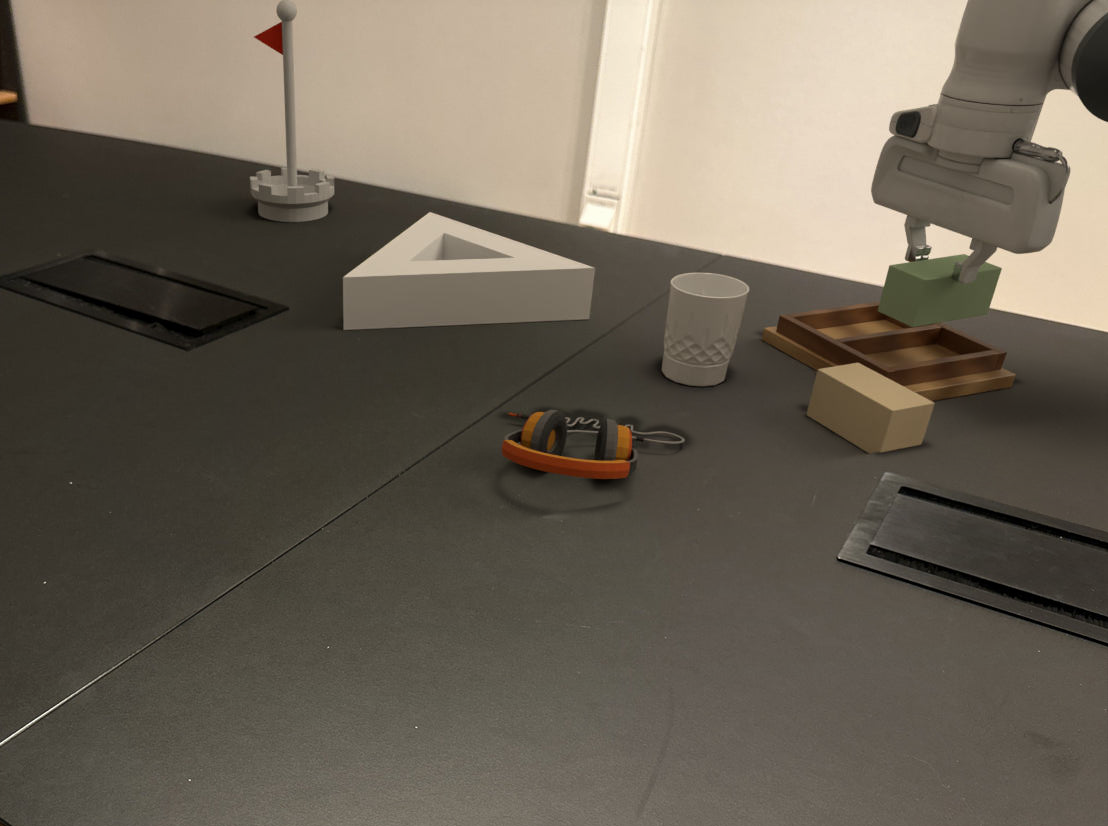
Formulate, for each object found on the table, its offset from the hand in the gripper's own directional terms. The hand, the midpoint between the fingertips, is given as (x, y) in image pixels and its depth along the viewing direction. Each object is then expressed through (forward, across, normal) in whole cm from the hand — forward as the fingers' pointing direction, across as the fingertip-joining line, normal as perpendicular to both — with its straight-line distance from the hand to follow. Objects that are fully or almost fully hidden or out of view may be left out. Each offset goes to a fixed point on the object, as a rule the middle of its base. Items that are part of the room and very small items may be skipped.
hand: (937, 271), depth 108 cm
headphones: (+12, -6, +44) cm, 46 cm away
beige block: (+12, -9, +14) cm, 21 cm away
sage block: (+4, 0, -1) cm, 5 cm away
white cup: (+12, +8, +22) cm, 26 cm away
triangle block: (+12, +35, +34) cm, 50 cm away
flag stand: (+12, +83, +45) cm, 95 cm away
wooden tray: (+12, +4, 0) cm, 12 cm away
